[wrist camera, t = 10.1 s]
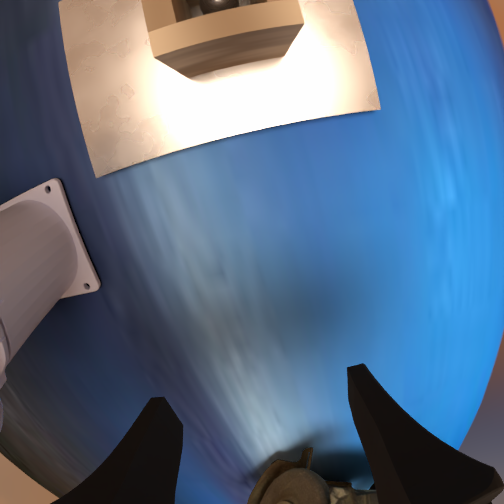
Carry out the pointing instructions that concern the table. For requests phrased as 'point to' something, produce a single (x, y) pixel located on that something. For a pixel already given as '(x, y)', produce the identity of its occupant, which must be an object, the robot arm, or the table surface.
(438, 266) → the table surface
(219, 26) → the hollow square block
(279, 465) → the bench grinder
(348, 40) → the base plate
